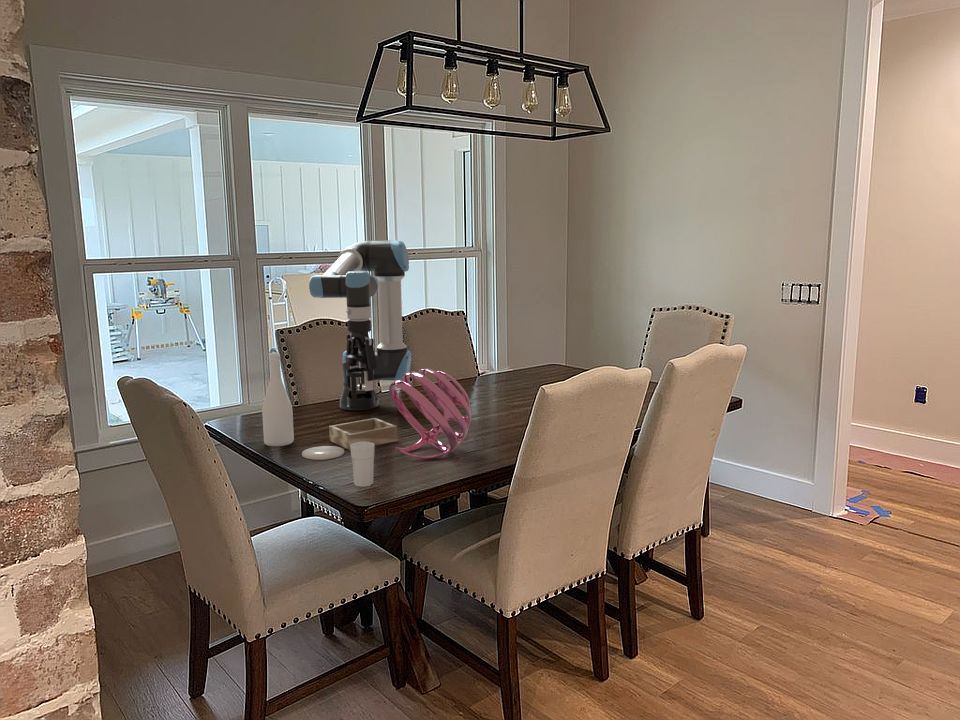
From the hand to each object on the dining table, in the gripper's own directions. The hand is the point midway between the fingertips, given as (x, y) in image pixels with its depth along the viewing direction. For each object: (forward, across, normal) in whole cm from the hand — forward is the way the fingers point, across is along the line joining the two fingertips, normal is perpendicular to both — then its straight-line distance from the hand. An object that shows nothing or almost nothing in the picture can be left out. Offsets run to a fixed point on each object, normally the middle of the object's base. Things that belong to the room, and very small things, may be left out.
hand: (361, 387), depth 249 cm
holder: (+18, 0, 0) cm, 18 cm away
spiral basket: (+18, +26, +10) cm, 33 cm away
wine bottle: (+18, -14, -24) cm, 33 cm away
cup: (+17, +38, -22) cm, 47 cm away
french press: (+6, 0, 0) cm, 6 cm away
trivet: (+18, +6, -18) cm, 25 cm away
